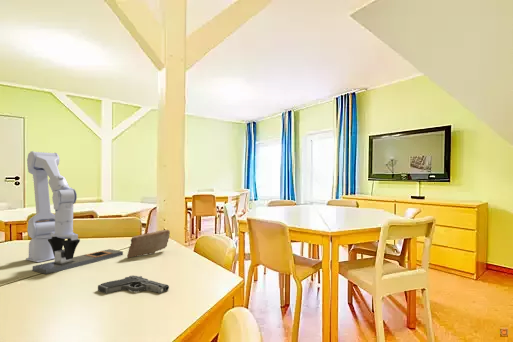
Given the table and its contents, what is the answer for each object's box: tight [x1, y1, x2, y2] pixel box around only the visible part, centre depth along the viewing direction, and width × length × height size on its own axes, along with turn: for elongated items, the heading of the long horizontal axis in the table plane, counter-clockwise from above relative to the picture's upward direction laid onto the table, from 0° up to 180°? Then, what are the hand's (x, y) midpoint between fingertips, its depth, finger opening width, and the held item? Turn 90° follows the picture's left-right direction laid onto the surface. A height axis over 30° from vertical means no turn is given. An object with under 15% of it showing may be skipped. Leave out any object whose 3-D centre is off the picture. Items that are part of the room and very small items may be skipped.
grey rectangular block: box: [54, 248, 72, 265], centre depth 110 cm, size 4×4×6 cm
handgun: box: [97, 275, 170, 295], centre depth 86 cm, size 2×17×12 cm
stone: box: [126, 229, 170, 259], centre depth 128 cm, size 18×10×4 cm
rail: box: [31, 248, 124, 275], centre depth 116 cm, size 9×30×2 cm, turn 152°
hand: (63, 257), depth 110 cm, fingers open, 7 cm apart
